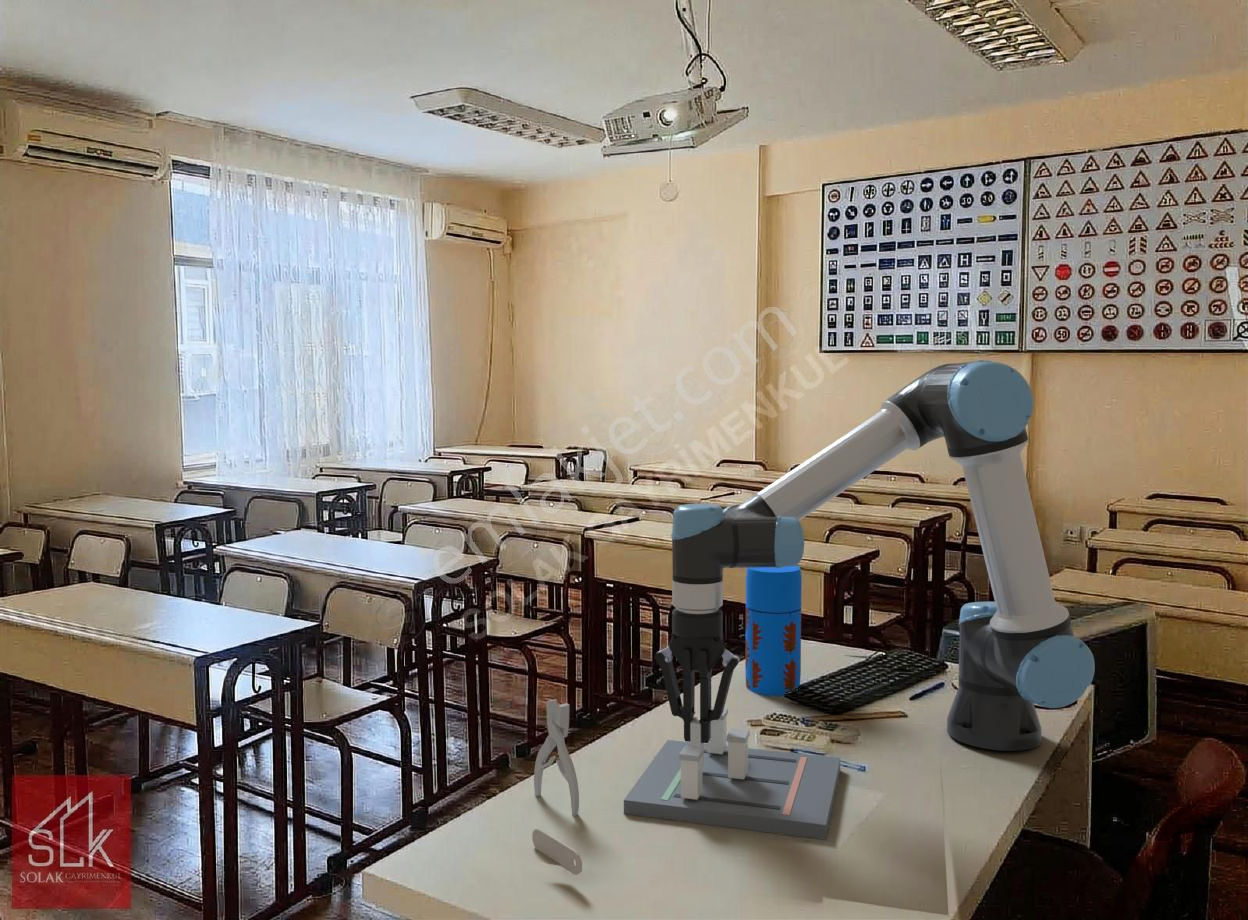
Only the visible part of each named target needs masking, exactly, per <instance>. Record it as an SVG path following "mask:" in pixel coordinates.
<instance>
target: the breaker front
mask: <svg viewBox="0 0 1248 920" xmlns="http://www.w3.org/2000/svg"><path fill="white" fill-rule="evenodd" d="M703 754H704V747H697V746H688V745H685V746H684V748H683V749H682V751H681V752H680V754H679V760H681V798H688V799H696V800H698V798H699V796H700V794H701V792H702V764H703Z"/></svg>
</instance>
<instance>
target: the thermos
mask: <svg viewBox="0 0 1248 920" xmlns="http://www.w3.org/2000/svg"><path fill="white" fill-rule="evenodd" d="M801 643H802V570H801V567H800V566H798V565H795V566H786V567H780V568H777V567H748V568H746V571H745V651H744V652H745V659H744V661H745V663H744V664H745V665H744V666H745V671H744V672H745V673H744V674H745V688H747V690H749V691H750V692H752V693H755V694H757V695H761V696H762V695H763V696H767V697H770V696H771V697H781V696H785V695H784V694H785V693H786V692H788V691H791V690H793V689H795V688H798V687H799V686H800V687H801V675H802V674H801V673H802V672H801V671H802V670H801V669H802V668H801V667H802V665H801V664H802V662H801V661H802V656H801V655H802V644H801Z"/></svg>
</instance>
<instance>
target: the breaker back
mask: <svg viewBox="0 0 1248 920" xmlns="http://www.w3.org/2000/svg"><path fill="white" fill-rule="evenodd" d="M713 709H714V706H711V710H713ZM728 714H729V708H727V707H724V710H723V713H722V715H721V717H720V718H719V719H718V720H712V721H711V738H710V740H709V742H708V743H707V744H708V753H715V754H723V752H724V751H725V749H726V746H727V716H728Z"/></svg>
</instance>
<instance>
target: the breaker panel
mask: <svg viewBox="0 0 1248 920" xmlns="http://www.w3.org/2000/svg"><path fill="white" fill-rule="evenodd" d="M685 745H688V746H690V742H687V741H684V740H683V741H681V740H672V739H667V740H666V742H665V743H664V744H663V746H662V747H661V748H660V749H659V751H658V752H657V753H656V755H655V757H654V758H653V760H651V762H650V763H649V764H648V766H647V768H646V769H645V770H644V771H643V773H642V774H641V776H640V777H639V778H638V779H637V781H636V782H635V784H634V785H633V786H632V788H631V790H630V791H629V792H628V793H627V794H626V796H625V797H624V799H623V814H624V815H631V816H636V817H637V816H639V817H647V818H655V819H661V820H662V819H663V820H669V821H677V822H685V823H686V822H687V823H692V824H700V825H707V826H708V825H710V826H717V827H724V828H733V829H740V830H746V831H747V830H749V831H755V832H763V833H773V834H780V835H786V836H787V835H788V836H795V837H801V838H810V839H811V838H812V839H816V840H817V839H819V840H827V835H828V830H829V825H830V821H831V816H832V811H833V807H834V802H835V797H836V792H837V788H838V783H839V778H840V774H841V757H839V756H837V757H836V756H825V755H816V754H806V753H796V752H789V751H777V750H770V749H769V750H768V749H758V748H750V747H748V772H747V774H746V776H745V779H736V778H728V745H726V749H725V751H724V752H723V754H715V753H708V743H704V761H703V764H702V792H701V794H700V796H699V798H698V800H696V799H688V798H681V760H679V754H680V752H681V751H682V749H683V748H684V746H685Z"/></svg>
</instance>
